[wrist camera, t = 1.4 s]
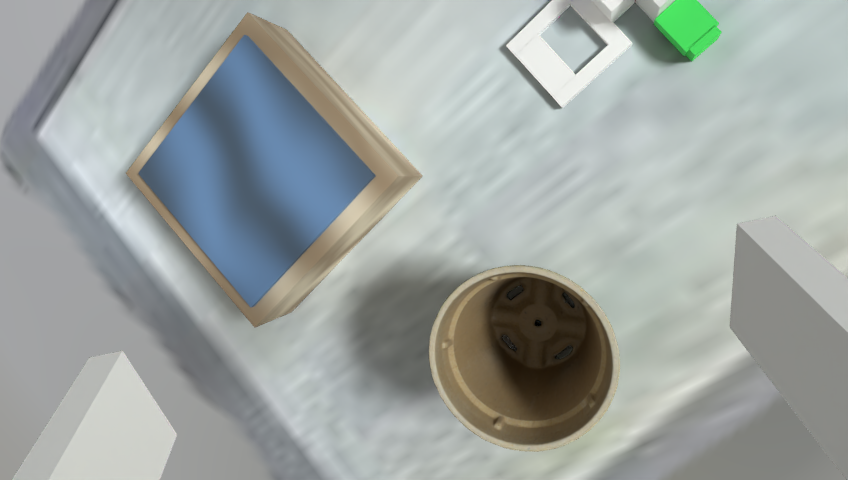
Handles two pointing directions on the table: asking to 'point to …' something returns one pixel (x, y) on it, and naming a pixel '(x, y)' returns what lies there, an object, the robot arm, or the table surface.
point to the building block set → (608, 38)
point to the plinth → (269, 171)
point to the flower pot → (524, 358)
